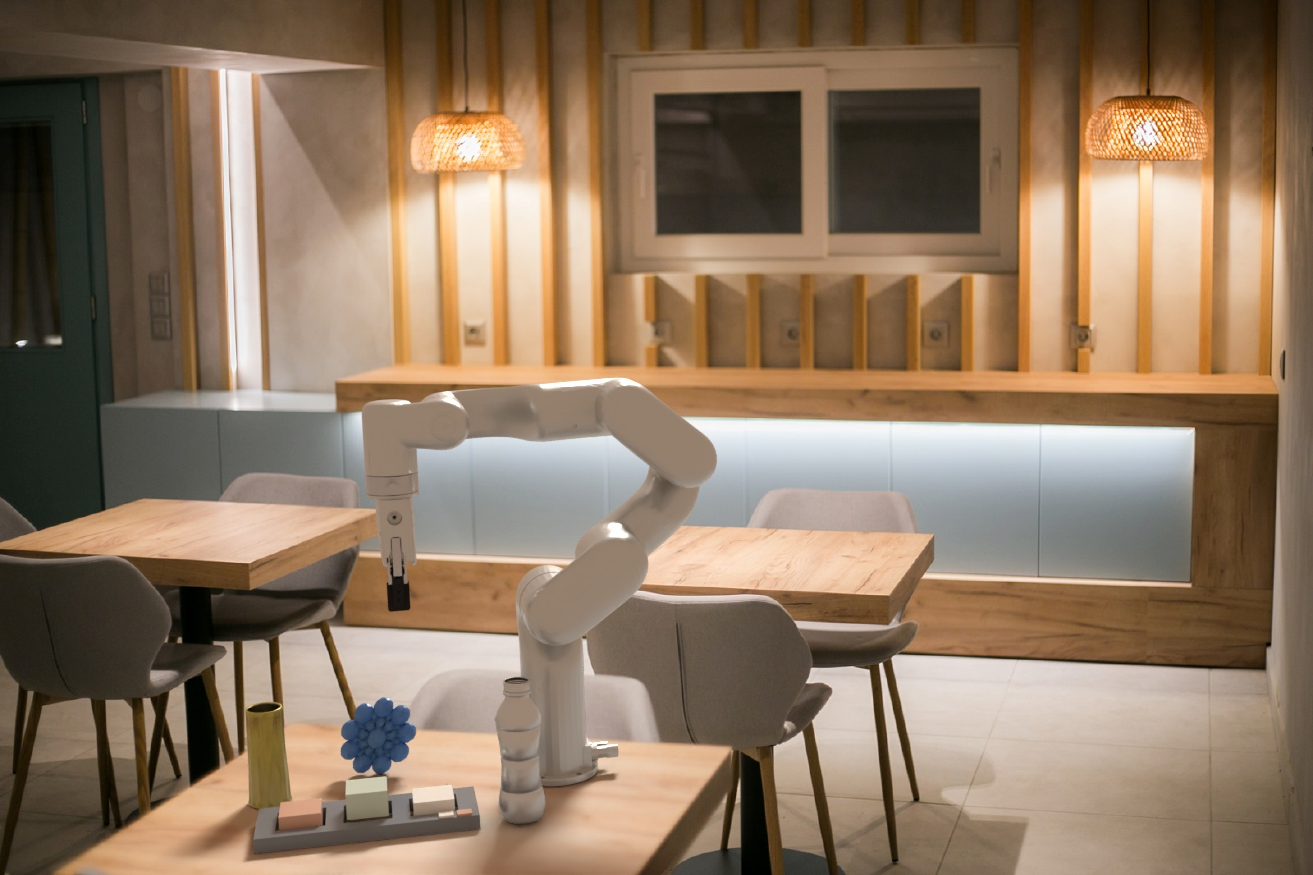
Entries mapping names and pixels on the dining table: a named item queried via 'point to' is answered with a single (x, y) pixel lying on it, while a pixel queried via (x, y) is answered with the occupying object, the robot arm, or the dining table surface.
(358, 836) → the keypad board
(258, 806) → the vase
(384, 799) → the key sage
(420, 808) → the key ivory
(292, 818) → the key terracotta
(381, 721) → the blue flower rosette
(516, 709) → the plastic bottle
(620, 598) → the robot arm
